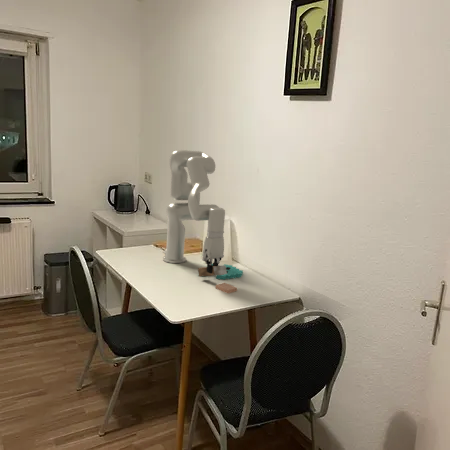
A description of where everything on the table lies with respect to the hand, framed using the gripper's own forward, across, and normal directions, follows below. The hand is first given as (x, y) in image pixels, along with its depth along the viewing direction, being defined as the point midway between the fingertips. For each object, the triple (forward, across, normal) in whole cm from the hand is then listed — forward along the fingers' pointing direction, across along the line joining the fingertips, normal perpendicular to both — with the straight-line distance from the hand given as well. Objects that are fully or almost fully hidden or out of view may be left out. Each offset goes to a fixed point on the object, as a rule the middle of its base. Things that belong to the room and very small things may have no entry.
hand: (212, 271), depth 215 cm
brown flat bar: (+2, 0, 0) cm, 2 cm away
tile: (+5, 0, +6) cm, 8 cm away
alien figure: (+6, -16, -8) cm, 19 cm away
